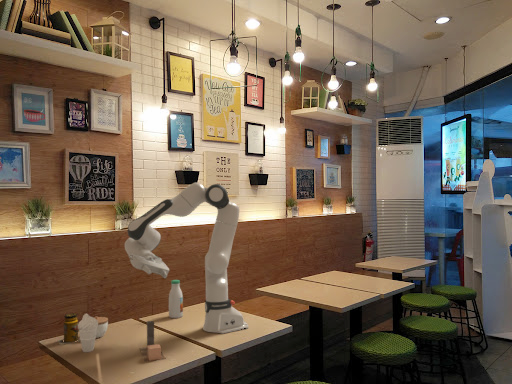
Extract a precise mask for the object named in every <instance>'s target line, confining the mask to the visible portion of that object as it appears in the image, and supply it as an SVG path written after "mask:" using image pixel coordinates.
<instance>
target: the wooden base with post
mask: <svg viewBox="0 0 512 384" xmlns="http://www.w3.org/2000/svg"><path fill="white" fill-rule="evenodd" d="M148 345H155V322H154V320H148V321H146V346H147V347H141V348H139V351H140V354H141V356H142V358H143V360H144V363H149V362H154V361H161V360H167V359H166V356H165V355H164V353H163V351H162V350H161V359H157V360H151V361H149V359H148Z"/></svg>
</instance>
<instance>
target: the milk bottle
mask: <svg viewBox="0 0 512 384" xmlns="http://www.w3.org/2000/svg"><path fill="white" fill-rule="evenodd" d="M180 282H181V280H180V279H173V280H171V281H170V283H171V284H170V285H171V289H170V291H169V294H168V317H169V318H171V319H178V318H182V317H183V316H184V297H183V291H182V289H181V283H180Z"/></svg>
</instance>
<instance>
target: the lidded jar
mask: <svg viewBox="0 0 512 384" xmlns="http://www.w3.org/2000/svg"><path fill="white" fill-rule="evenodd" d="M94 318H95V319H97V321H98V326H97V330H96V339H99V337H100V338H102V337H104V335H105V334H106V333H107V330H108V325H109V318H108V317H105V316H96V315H95V316H94Z"/></svg>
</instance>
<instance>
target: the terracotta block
mask: <svg viewBox="0 0 512 384" xmlns="http://www.w3.org/2000/svg"><path fill="white" fill-rule="evenodd" d="M161 351H162V347H161V345H160V344H159V343H154V345H148V359H149V361H150V362H152V361H151V360H156V361H158V360H157V359H161Z"/></svg>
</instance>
